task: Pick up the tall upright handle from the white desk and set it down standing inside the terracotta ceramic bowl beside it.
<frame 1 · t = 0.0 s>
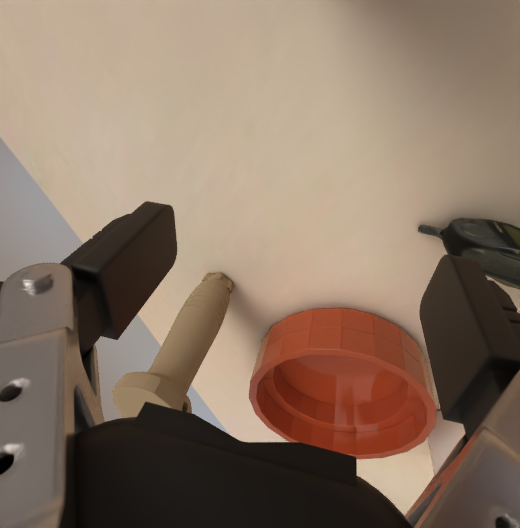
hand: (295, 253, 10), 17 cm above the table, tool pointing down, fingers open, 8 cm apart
spray bottle: (456, 422, 39), on the table
handle: (219, 281, 35), on the table
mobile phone: (518, 242, 26), on the table
bowl: (338, 362, 38), on the table
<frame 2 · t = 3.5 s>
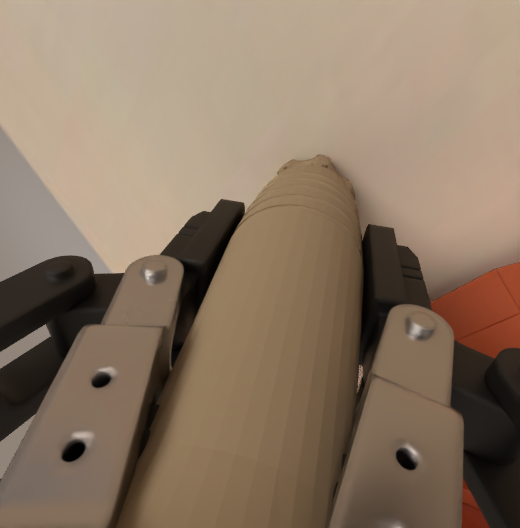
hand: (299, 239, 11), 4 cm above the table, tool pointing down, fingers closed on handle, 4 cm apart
handle: (312, 188, 14), on the table, touching gripper
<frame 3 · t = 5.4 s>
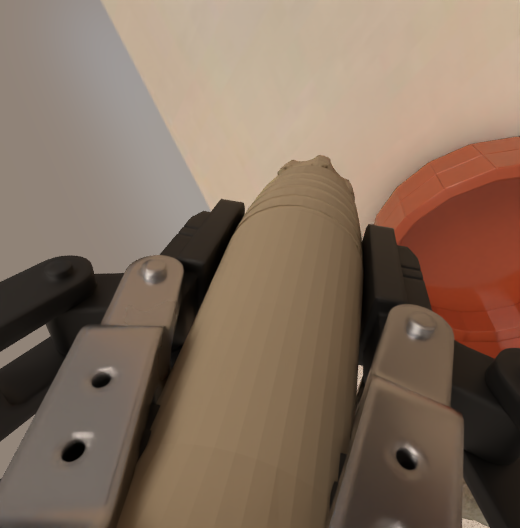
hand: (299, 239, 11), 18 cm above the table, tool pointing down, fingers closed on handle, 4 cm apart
handle: (312, 188, 14), point 14 cm above the table, touching gripper
bowl: (477, 243, 28), on the table
decorative bird: (446, 458, 46), on the table
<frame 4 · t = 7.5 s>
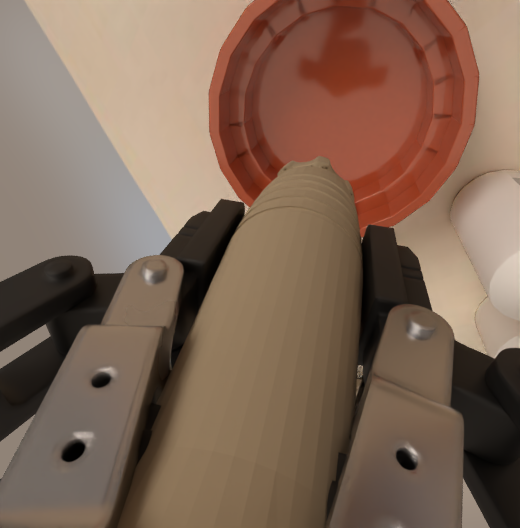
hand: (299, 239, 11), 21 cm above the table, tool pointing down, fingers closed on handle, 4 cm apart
spray bottle: (492, 205, 30), on the table
handle: (312, 189, 14), point 17 cm above the table, touching gripper
bowl: (334, 111, 28), on the table
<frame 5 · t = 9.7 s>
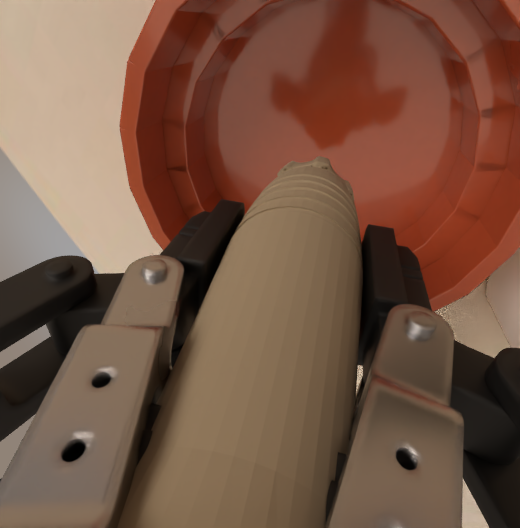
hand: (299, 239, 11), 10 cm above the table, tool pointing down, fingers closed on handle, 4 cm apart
handle: (312, 189, 14), point 6 cm above the table, touching gripper
bowl: (322, 147, 19), on the table
when the fingers open (5 cm above the table, at t = 11.5 s): handle stays where it is, resting on bowl.
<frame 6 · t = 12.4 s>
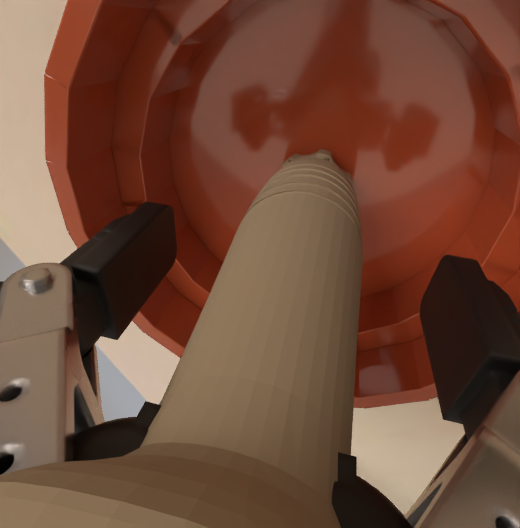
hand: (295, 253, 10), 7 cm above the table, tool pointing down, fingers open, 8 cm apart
handle: (315, 181, 15), point 1 cm above the table, touching bowl
bowl: (315, 176, 16), on the table
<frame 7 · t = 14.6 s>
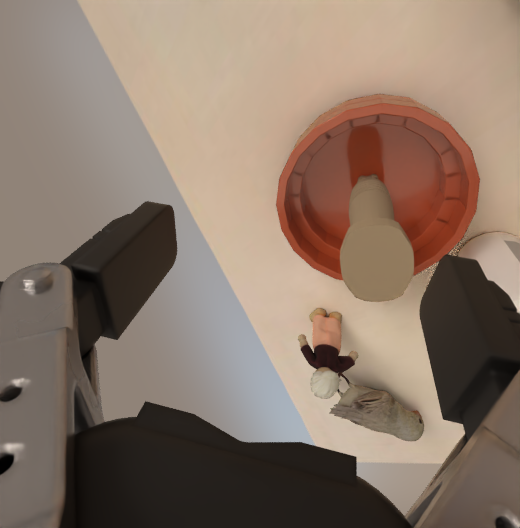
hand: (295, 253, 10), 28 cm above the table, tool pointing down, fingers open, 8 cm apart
spray bottle: (488, 256, 38), on the table
handle: (368, 186, 36), point 1 cm above the table, touching bowl
bowl: (367, 184, 36), on the table
grandmother figurine: (330, 317, 48), on the table
decorative bird: (375, 389, 54), on the table
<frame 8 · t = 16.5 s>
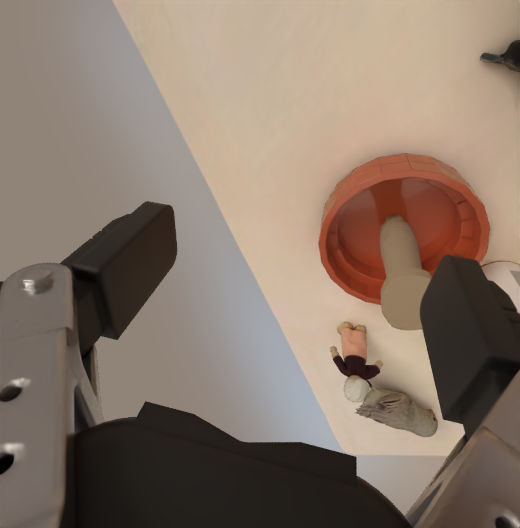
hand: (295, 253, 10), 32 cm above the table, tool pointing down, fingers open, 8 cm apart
spray bottle: (496, 280, 44), on the table
handle: (394, 224, 42), point 1 cm above the table, touching bowl
bowl: (393, 222, 43), on the table
grandmother figurine: (355, 329, 55), on the table
decorative bird: (394, 391, 61), on the table
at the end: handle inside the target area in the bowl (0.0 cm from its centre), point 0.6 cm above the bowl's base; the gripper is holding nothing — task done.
